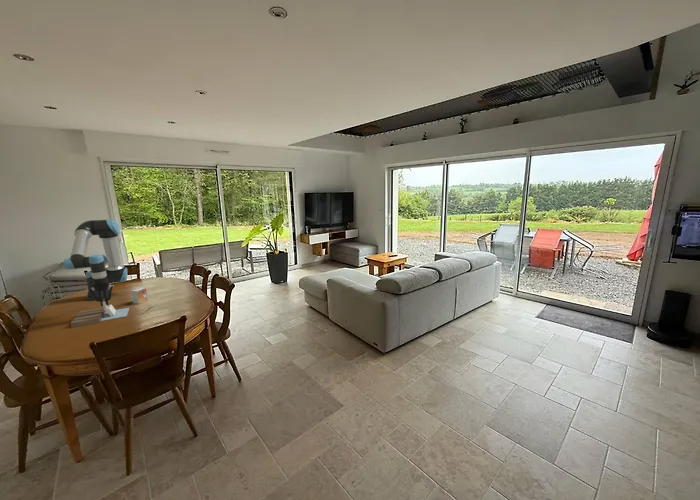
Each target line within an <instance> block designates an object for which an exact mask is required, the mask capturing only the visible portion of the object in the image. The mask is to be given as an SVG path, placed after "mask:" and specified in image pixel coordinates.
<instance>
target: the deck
mask: <svg viewBox="0 0 700 500" xmlns="http://www.w3.org/2000/svg"><path fill="white" fill-rule="evenodd" d="M105 312H106V311H104V308H103V307H99V308H92V309H85V310H80V311H78V313H77V314H76V315H75V317H74V318H73V319H72V321H71V322H70V327H71V329H73V328H76V327H77V328H78V327H81V326H86V325H87V326H88V325H93V324H98V323H101V322H102V321H101V319H102V317H103V315H104V313H105Z"/></svg>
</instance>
